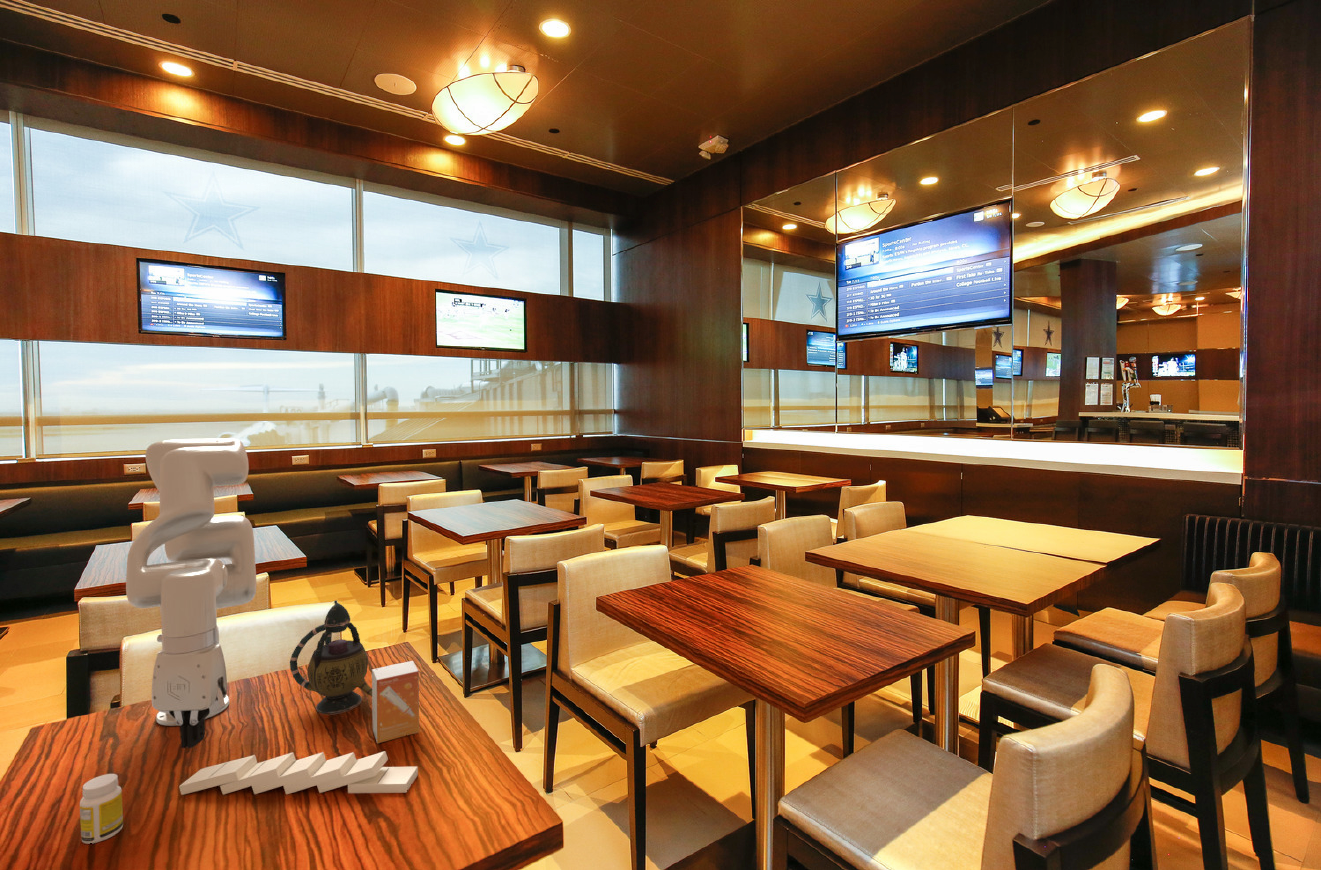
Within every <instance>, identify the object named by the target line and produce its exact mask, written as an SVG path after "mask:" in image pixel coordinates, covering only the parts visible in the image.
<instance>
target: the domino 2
mask: <svg viewBox="0 0 1321 870" xmlns="http://www.w3.org/2000/svg"><path fill="white" fill-rule="evenodd" d="M296 760H297V759H296V757H295V753H294V752H289V753H286V754H282V755H280V756H277V757H273V758H271V759H267V760H264V761H260V762H257V764H256V765H255V766H254V767H253V768H251V769H250V770H249V771H248V772H247V773H246V774H245V775H244V776H242V777H241V778H240V779H239V780H237V781H234V782H230V783H226V784H222V785H219V787H220V790H221V793H222V795H223V796H224V795H226V794H230V793H233V792H236V791H239V790H242V789H246V788H249V787H252V786H253V785H256V784H259V783H262V782H266V781H269V780H272V779H275V778H278V777H279V776H281V775H282V774H283V773H284V772H285V771H286V770H287V769H288V768H289V767H290V766H291V765H292V764H293V763H294V762H295V761H296Z"/></svg>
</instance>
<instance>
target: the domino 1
mask: <svg viewBox="0 0 1321 870" xmlns="http://www.w3.org/2000/svg"><path fill="white" fill-rule="evenodd" d="M257 763H258V760H257V757H256V755H255V754H253V755H249V756H246V757H242V758H238V759H233V760H230V761H226V762H222V763H220V764H214V765H211V766H206V767H203V768H200V769H199V770H198V771H196V772H195V773H194V774H193V775H192V776H190V777H189V778H187V779H186V780H185V781H183V783H181V784H180V785H179V787H178V788H179V791H180V794H181V795H182V796H184V795H187V794H190V793H195V792H199V791H202V790H206V789H210V788H213V787H217V786H218V787H219V786H221V785H222V784H226V783H230V782H234V781H237V780H239V779H240V778H241V777H242V776H244V775H245V774H246V773H247V772H248V771H249V770H250V769H251V768H253V767H254V766H255V765H256V764H257Z"/></svg>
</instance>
